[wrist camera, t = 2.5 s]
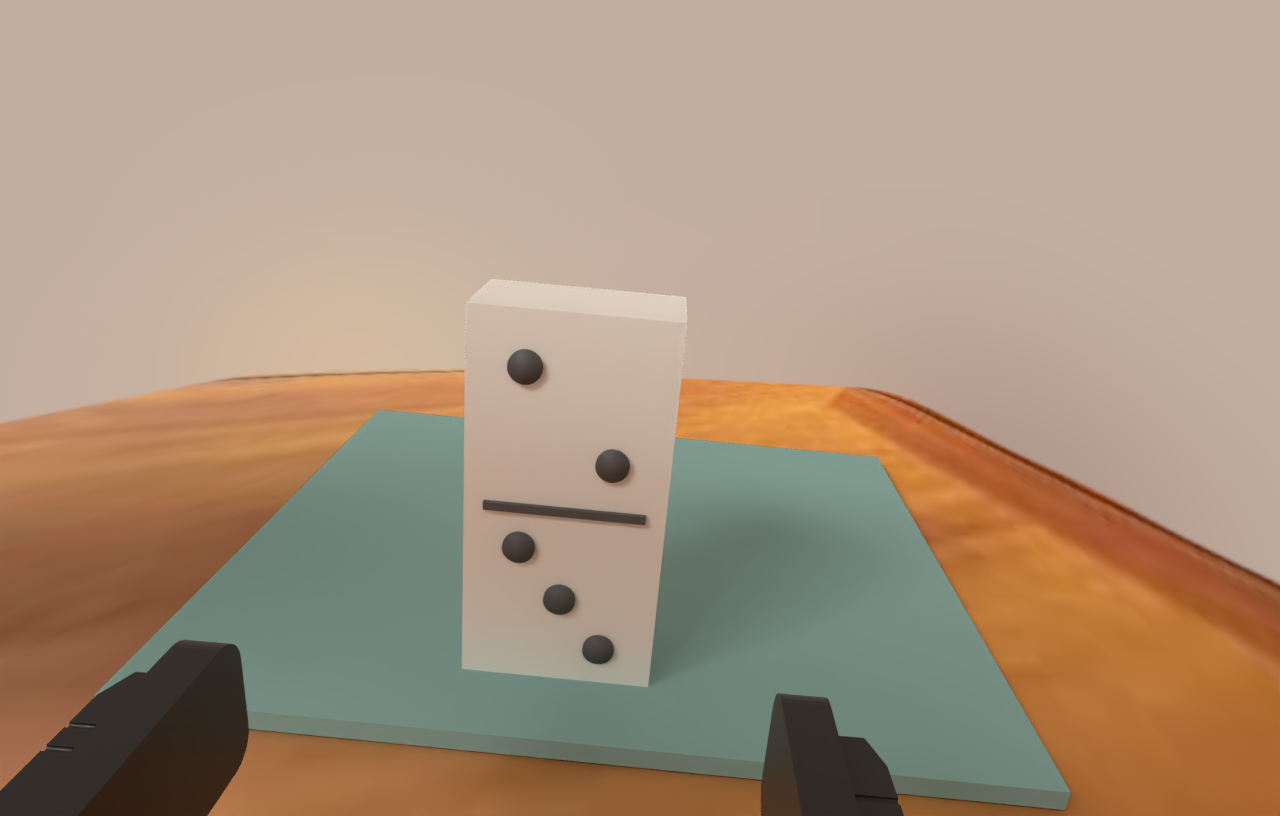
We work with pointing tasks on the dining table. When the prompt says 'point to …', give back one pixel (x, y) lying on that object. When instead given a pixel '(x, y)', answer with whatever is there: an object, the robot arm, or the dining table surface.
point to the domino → (567, 477)
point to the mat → (683, 635)
